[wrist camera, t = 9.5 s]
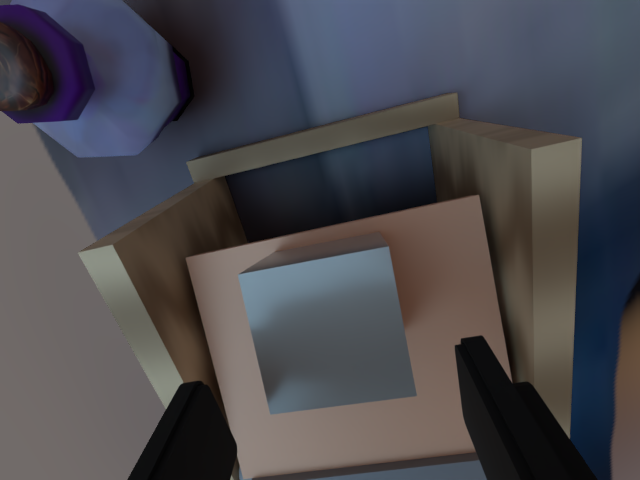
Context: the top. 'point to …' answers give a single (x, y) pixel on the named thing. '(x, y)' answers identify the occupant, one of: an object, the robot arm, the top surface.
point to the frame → (450, 183)
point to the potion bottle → (90, 74)
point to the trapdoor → (422, 340)
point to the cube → (328, 325)
